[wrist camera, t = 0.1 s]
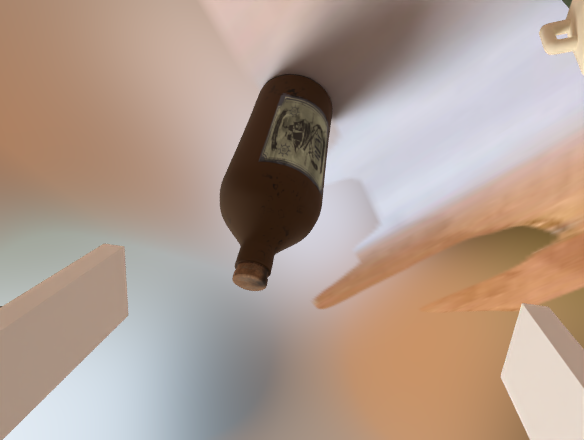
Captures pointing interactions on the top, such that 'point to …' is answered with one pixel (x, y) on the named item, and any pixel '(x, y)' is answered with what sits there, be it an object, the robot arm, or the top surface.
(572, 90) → the top surface
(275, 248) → the olive oil
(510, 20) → the top surface
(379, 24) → the top surface
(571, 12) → the character mug
